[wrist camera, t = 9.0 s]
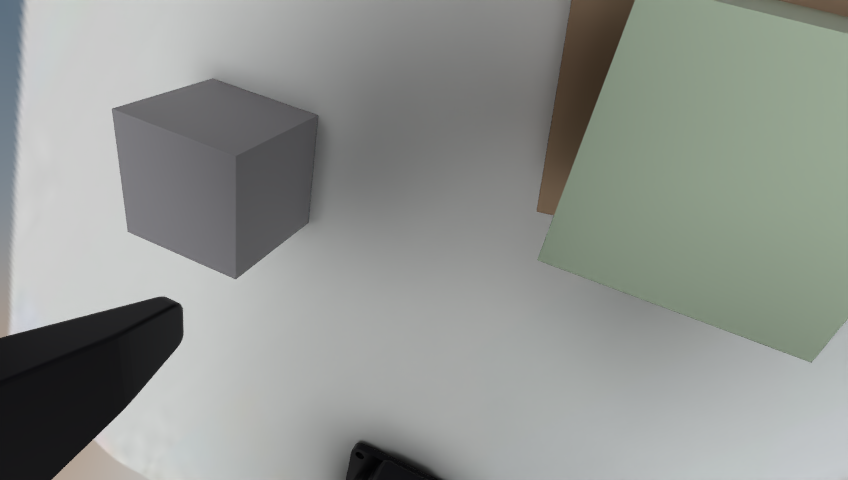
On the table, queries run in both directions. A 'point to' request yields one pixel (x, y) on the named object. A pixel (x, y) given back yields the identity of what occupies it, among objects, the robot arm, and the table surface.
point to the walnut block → (595, 81)
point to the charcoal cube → (215, 172)
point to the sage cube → (719, 170)
